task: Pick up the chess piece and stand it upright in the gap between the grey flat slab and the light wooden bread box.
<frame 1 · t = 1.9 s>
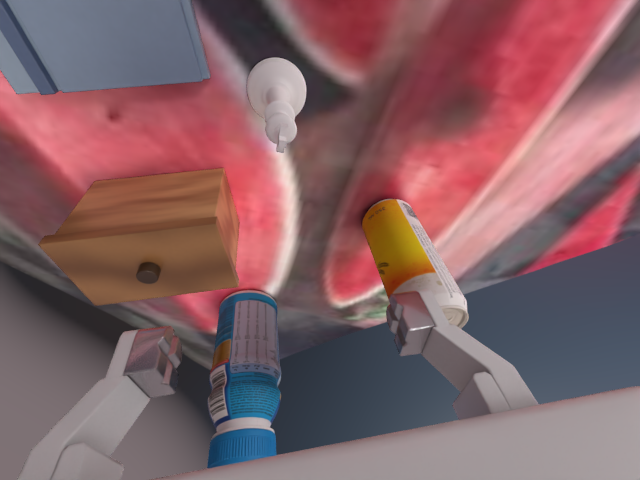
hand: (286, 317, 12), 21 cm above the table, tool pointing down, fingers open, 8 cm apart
yellow cylinder: (384, 215, 37), on the table
grey flat slab: (90, 20, 21), on the table
beverage bottle: (249, 304, 45), on the table
chess piece: (276, 90, 26), on the table
bread box: (173, 203, 31), on the table
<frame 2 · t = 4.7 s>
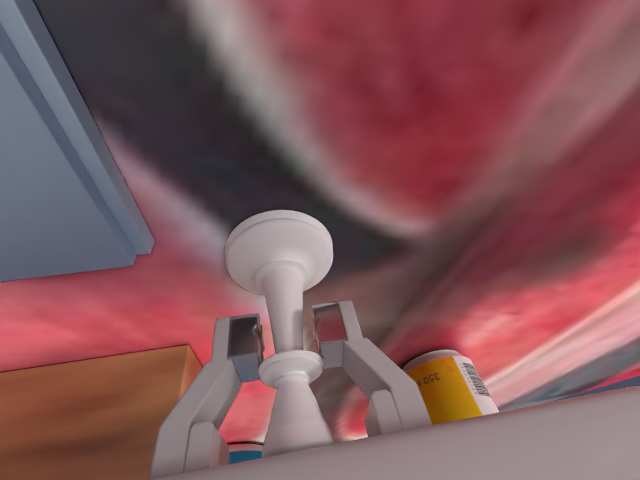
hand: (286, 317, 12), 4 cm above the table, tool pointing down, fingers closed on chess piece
yellow cylinder: (429, 362, 26), on the table
beverage bottle: (233, 452, 33), on the table
chess piece: (279, 249, 14), on the table, touching gripper
bread box: (109, 386, 20), on the table
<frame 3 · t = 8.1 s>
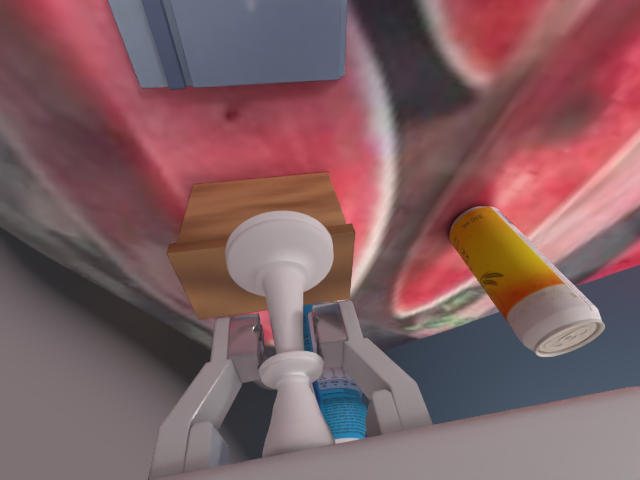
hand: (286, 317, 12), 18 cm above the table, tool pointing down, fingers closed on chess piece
yellow cylinder: (470, 222, 35), on the table
grey flat slab: (235, 9, 19), on the table
beverage bottle: (313, 314, 43), on the table
chess piece: (280, 250, 14), point 14 cm above the table, touching gripper
bread box: (267, 209, 29), on the table
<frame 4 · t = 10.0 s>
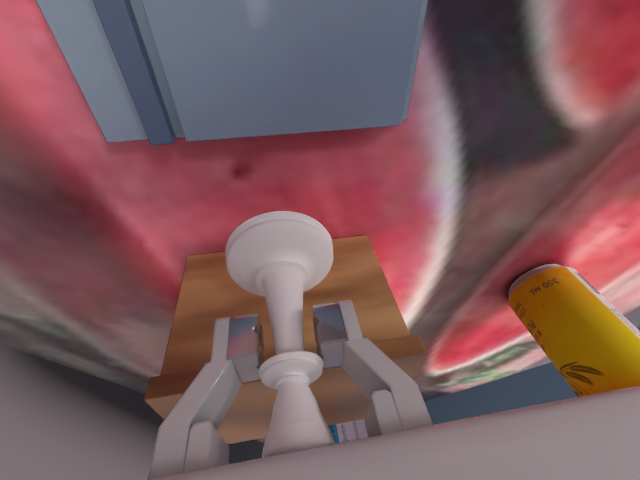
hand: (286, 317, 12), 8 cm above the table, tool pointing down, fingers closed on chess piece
yellow cylinder: (533, 280, 29), on the table
grey flat slab: (251, 25, 12), on the table
beverage bottle: (333, 378, 36), on the table
chess piece: (280, 250, 14), point 5 cm above the table, touching gripper
bread box: (285, 278, 23), on the table
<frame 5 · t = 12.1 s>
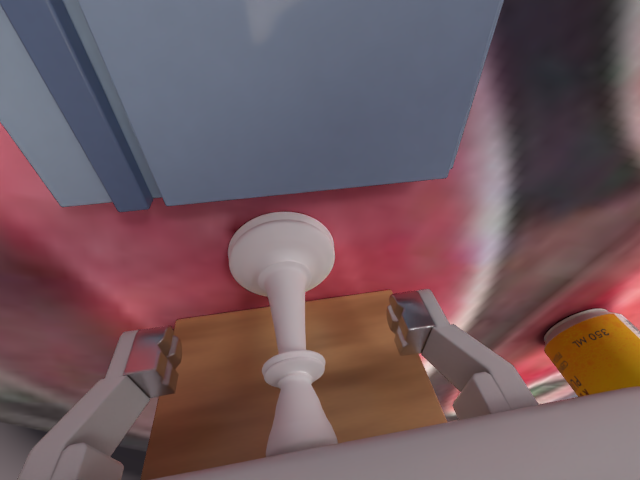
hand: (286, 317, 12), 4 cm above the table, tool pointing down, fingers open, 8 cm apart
yellow cylinder: (573, 324, 25), on the table
grey flat slab: (252, 55, 9), on the table
chess piece: (282, 250, 14), on the table
bread box: (292, 336, 19), on the table
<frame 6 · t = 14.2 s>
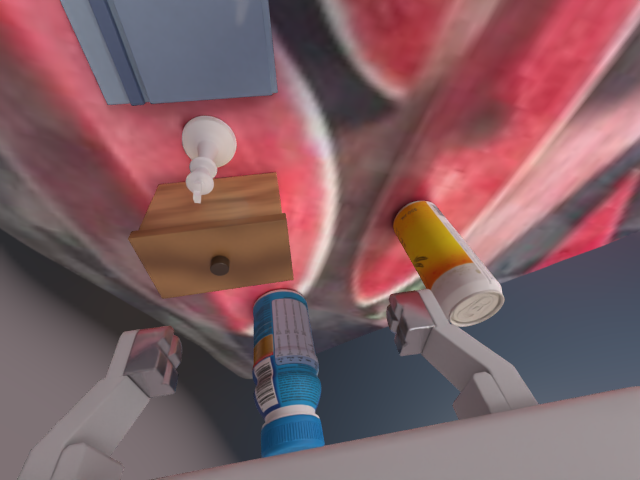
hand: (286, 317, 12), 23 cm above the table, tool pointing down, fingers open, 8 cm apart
yellow cylinder: (412, 216, 40), on the table
grey flat slab: (182, 41, 24), on the table
beverage bottle: (280, 303, 47), on the table
chess piece: (210, 141, 29), on the table
bread box: (226, 205, 34), on the table
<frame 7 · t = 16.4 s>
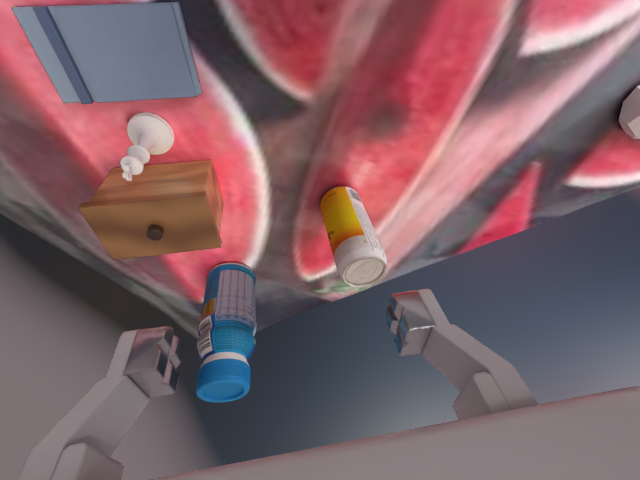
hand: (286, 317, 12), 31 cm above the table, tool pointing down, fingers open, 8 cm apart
yellow cylinder: (338, 199, 47), on the table
grey flat slab: (119, 54, 30), on the table
beverage bottle: (231, 276, 54), on the table
chess piece: (152, 132, 36), on the table
bread box: (172, 187, 41), on the table
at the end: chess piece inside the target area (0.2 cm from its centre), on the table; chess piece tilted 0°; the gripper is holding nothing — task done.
